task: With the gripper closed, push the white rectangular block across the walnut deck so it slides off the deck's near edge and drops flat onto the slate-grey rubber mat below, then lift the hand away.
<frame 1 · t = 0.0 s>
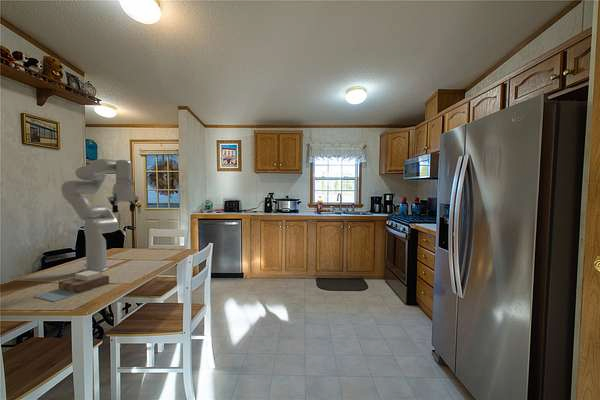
hand: (124, 211, 142), 37 cm above the table, tool pointing down, fingers open, 9 cm apart
white rectangular block: (88, 277, 126), point 4 cm above the table, touching deck
mat: (56, 295, 114), on the table
deck: (84, 286, 125), on the table
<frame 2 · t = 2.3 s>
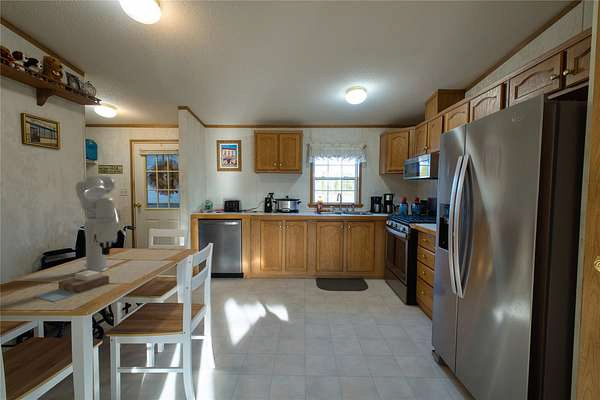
hand: (105, 254, 133), 14 cm above the table, tool pointing down, fingers closed
nothing on the table moved.
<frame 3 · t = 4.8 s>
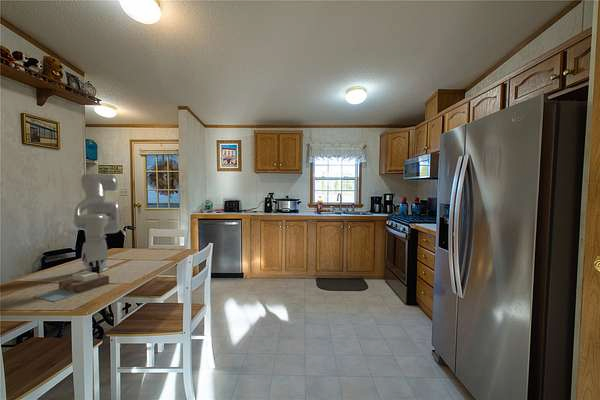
hand: (95, 273, 129), 5 cm above the table, tool pointing down, fingers closed
white rectangular block: (85, 278, 125), point 4 cm above the table, touching deck, gripper
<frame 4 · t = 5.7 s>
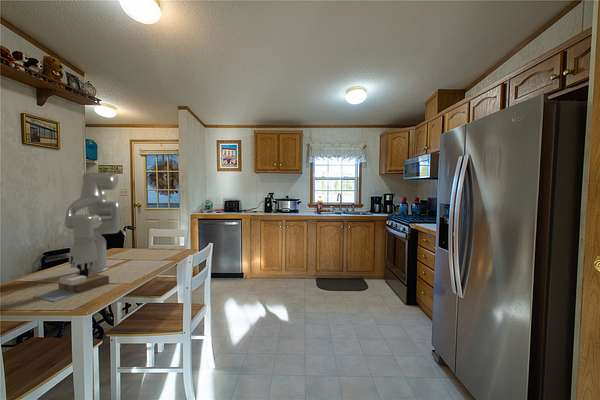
hand: (84, 276, 124), 5 cm above the table, tool pointing down, fingers closed
white rectangular block: (73, 282, 120), point 4 cm above the table, touching deck, gripper
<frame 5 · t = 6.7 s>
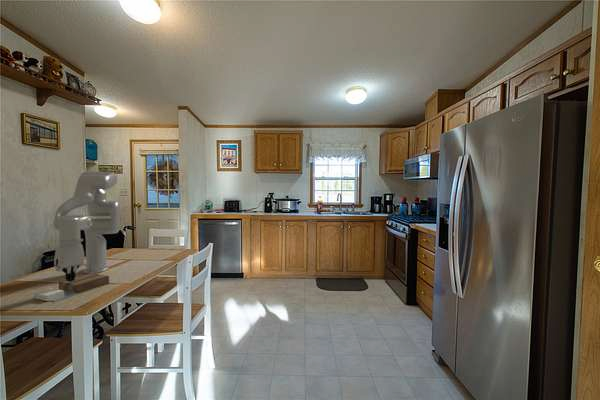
hand: (70, 280, 119), 5 cm above the table, tool pointing down, fingers closed
white rectangular block: (49, 291, 111), point 3 cm above the table, tilted 180°, touching mat
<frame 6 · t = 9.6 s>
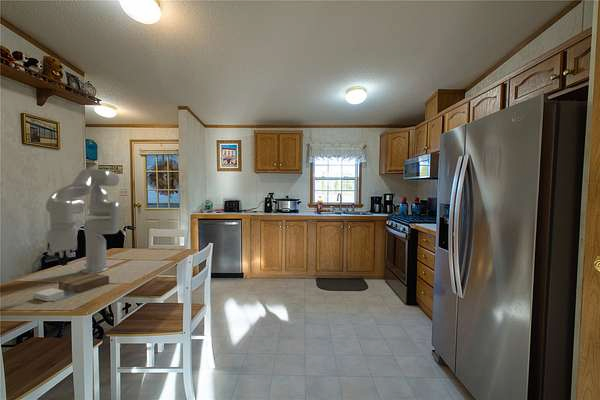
hand: (63, 264, 117), 13 cm above the table, tool pointing down, fingers closed
nothing on the table moved.
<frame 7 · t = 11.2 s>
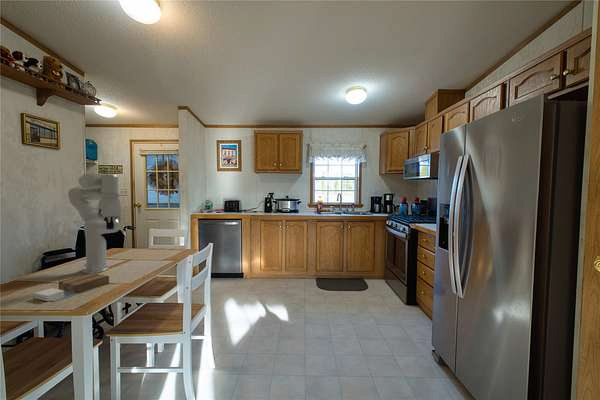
hand: (110, 229, 139), 27 cm above the table, tool pointing down, fingers closed
nothing on the table moved.
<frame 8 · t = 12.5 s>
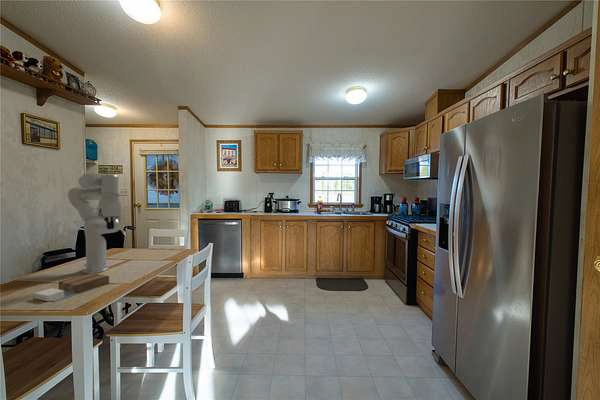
hand: (110, 228, 139), 27 cm above the table, tool pointing down, fingers closed
nothing on the table moved.
at the end: white rectangular block inside the target area on the mat (2.6 cm from its centre), point 2.7 cm above the mat's base; white rectangular block touching mat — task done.
